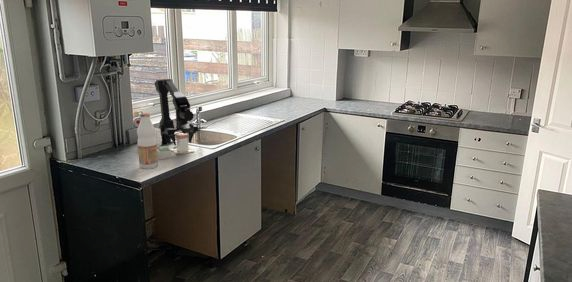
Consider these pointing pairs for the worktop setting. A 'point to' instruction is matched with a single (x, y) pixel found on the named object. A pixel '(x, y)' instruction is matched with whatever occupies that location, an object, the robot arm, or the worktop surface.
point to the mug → (158, 136)
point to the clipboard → (180, 152)
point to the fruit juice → (147, 143)
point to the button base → (164, 154)
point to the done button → (163, 148)
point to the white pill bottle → (182, 142)
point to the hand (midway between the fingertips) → (182, 144)
